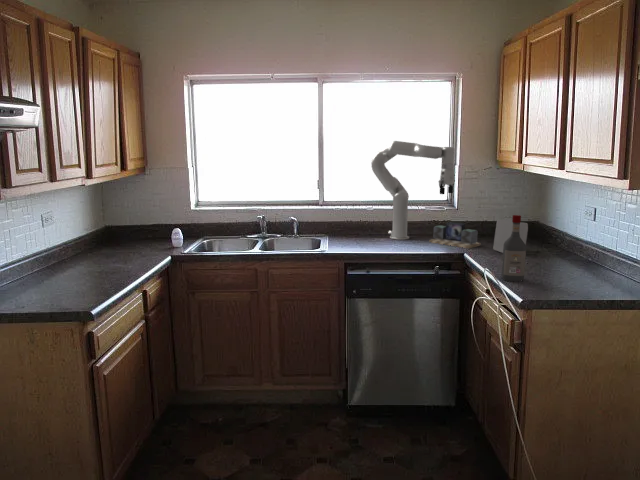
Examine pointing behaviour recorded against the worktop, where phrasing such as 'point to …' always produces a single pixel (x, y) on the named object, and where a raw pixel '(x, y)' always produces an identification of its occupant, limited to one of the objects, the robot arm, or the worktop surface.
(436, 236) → the rail board
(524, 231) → the electrical switch box
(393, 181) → the robot arm
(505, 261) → the liquor
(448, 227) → the small box
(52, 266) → the worktop surface
